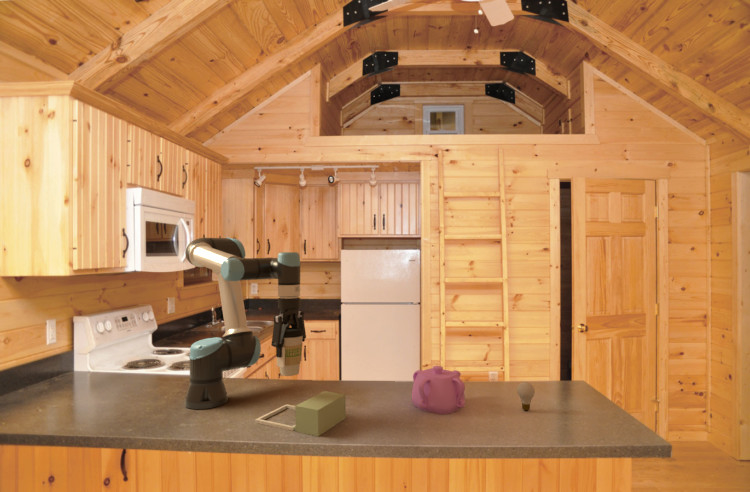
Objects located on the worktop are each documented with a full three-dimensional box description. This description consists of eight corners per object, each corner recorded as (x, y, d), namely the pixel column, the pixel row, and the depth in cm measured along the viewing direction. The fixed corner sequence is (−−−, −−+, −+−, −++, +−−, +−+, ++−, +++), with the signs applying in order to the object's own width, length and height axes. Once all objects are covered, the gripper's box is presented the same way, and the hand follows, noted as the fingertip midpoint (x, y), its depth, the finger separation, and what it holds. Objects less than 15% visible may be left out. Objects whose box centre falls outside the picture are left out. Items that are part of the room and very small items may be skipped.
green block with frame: (255, 422, 147) (254, 398, 147) (286, 407, 162) (286, 384, 162) (318, 436, 136) (317, 410, 136) (345, 418, 150) (345, 394, 150)
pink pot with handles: (412, 415, 153) (412, 373, 153) (411, 395, 174) (410, 358, 174) (468, 416, 152) (468, 374, 152) (460, 396, 173) (460, 359, 173)
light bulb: (534, 408, 158) (534, 380, 158) (535, 414, 152) (534, 385, 153) (517, 407, 160) (517, 379, 160) (517, 412, 154) (516, 383, 154)
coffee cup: (298, 378, 145) (298, 332, 146) (270, 376, 147) (270, 331, 148) (308, 370, 155) (308, 327, 155) (281, 369, 157) (281, 326, 157)
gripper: (277, 300, 140) (278, 372, 140) (316, 294, 160) (316, 357, 159) (259, 299, 144) (259, 369, 143) (299, 294, 163) (299, 355, 163)
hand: (289, 363), depth 151 cm, fingers closed on coffee cup, 9 cm apart
